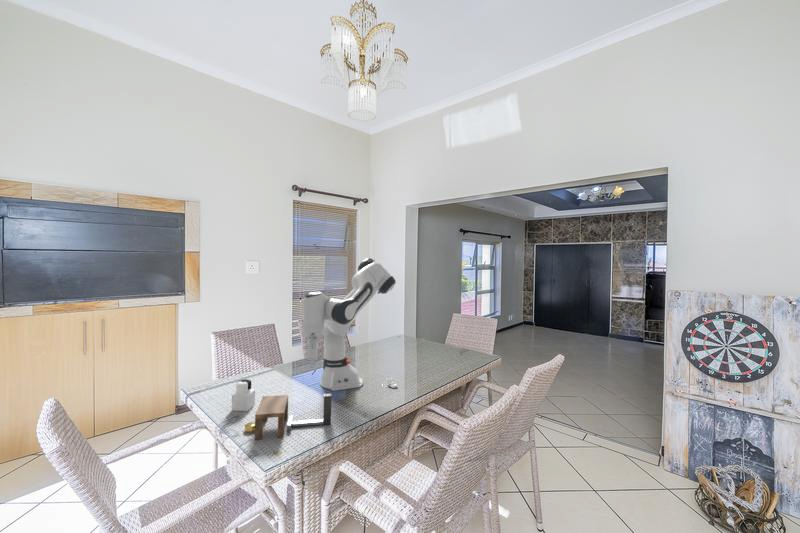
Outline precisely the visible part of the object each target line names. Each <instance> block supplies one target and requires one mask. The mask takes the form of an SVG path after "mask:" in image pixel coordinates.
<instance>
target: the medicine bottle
mask: <svg viewBox="0 0 800 533" xmlns="http://www.w3.org/2000/svg"><path fill="white" fill-rule="evenodd" d="M235 383H236V384H235V385H236V386H235V387H236V389H235V390H236V391H235V392H234V393H232V395H231V411H233V412H249V410H250V409H251V408H253V407H254V406H255V404H256V389H255V388H252V380H250V379H247V378H246V379H241V380H238V381H237V382H235Z"/></svg>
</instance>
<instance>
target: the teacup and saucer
mask: <svg viewBox="0 0 800 533" xmlns="http://www.w3.org/2000/svg"><path fill="white" fill-rule="evenodd" d="M385 381H386V382H387V383H386V382H385V383H386V385H388V387H392V388H391V389H395V388H397V387H398V385H397V383H395V384H392V383H393V377H386V378H385ZM381 386H382V387H383V383H382V384H381Z"/></svg>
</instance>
